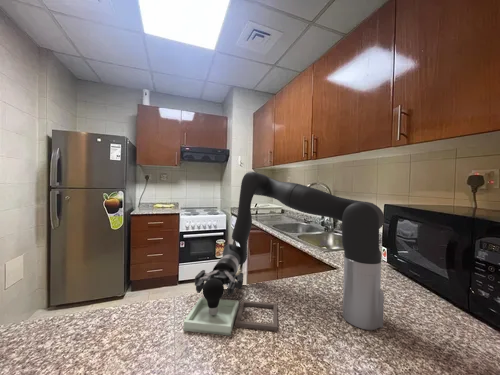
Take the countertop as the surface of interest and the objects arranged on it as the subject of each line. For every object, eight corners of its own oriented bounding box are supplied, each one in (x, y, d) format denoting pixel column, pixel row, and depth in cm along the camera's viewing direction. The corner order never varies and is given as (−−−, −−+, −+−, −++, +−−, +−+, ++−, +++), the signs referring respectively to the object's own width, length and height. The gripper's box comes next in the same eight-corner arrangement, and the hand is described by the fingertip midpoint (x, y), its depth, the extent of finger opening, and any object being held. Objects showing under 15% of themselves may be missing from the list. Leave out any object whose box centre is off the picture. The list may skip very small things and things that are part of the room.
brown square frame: (276, 306, 64) (276, 303, 64) (277, 331, 53) (277, 327, 53) (241, 303, 65) (241, 300, 65) (234, 326, 54) (235, 322, 54)
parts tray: (238, 308, 63) (238, 300, 63) (230, 335, 51) (230, 326, 51) (200, 304, 64) (200, 297, 64) (183, 330, 52) (183, 321, 52)
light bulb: (219, 323, 54) (219, 284, 54) (198, 320, 55) (199, 282, 56) (226, 310, 60) (226, 276, 60) (207, 308, 61) (208, 274, 61)
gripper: (207, 256, 73) (188, 275, 57) (247, 259, 72) (239, 279, 56) (206, 277, 73) (187, 302, 57) (246, 280, 72) (238, 307, 56)
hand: (213, 290), depth 57 cm, fingers open, 8 cm apart
